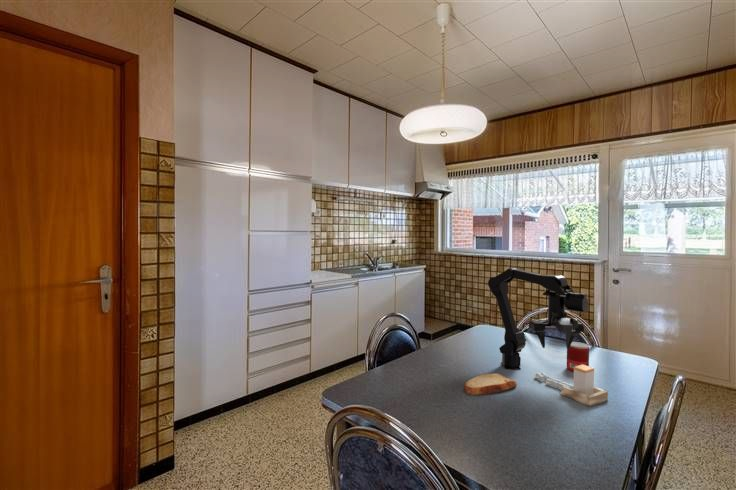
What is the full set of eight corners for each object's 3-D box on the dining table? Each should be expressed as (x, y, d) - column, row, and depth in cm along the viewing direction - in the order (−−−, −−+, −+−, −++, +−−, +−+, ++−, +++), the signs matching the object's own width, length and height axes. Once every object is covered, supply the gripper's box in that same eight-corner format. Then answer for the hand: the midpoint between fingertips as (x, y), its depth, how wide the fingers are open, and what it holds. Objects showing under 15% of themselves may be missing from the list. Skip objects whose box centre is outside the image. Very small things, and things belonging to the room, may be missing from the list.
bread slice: (463, 394, 124) (463, 383, 124) (468, 375, 140) (468, 366, 140) (517, 403, 117) (517, 392, 117) (516, 382, 134) (516, 373, 133)
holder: (559, 393, 123) (559, 385, 123) (577, 388, 128) (577, 380, 128) (589, 406, 114) (589, 397, 114) (607, 400, 119) (607, 391, 119)
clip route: (563, 394, 123) (563, 388, 123) (530, 378, 137) (530, 373, 137) (575, 391, 125) (576, 385, 125) (542, 375, 139) (542, 371, 139)
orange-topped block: (573, 394, 122) (573, 366, 121) (581, 391, 124) (582, 364, 124) (584, 399, 118) (585, 370, 118) (593, 396, 120) (594, 368, 120)
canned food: (591, 374, 141) (592, 347, 140) (570, 372, 142) (571, 346, 142) (584, 367, 148) (584, 342, 148) (563, 366, 150) (564, 340, 150)
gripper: (541, 312, 126) (540, 354, 126) (593, 313, 125) (592, 355, 125) (528, 306, 137) (527, 345, 137) (576, 306, 136) (576, 346, 136)
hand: (555, 348), depth 134 cm, fingers open, 9 cm apart
